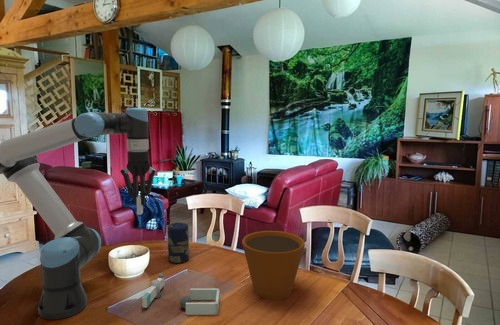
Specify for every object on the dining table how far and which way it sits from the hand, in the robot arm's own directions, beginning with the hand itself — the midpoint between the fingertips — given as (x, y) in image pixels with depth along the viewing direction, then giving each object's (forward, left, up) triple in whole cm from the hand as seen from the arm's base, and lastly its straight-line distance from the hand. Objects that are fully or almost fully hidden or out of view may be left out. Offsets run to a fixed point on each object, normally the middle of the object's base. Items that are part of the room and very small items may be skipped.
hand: (140, 213), depth 132 cm
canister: (+9, +29, -31) cm, 43 cm away
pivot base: (+6, -4, -30) cm, 31 cm away
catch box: (+24, -12, -30) cm, 41 cm away
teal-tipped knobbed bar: (+6, -5, -29) cm, 31 cm away
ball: (+19, -14, -29) cm, 38 cm away
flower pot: (+50, 0, -31) cm, 59 cm away
